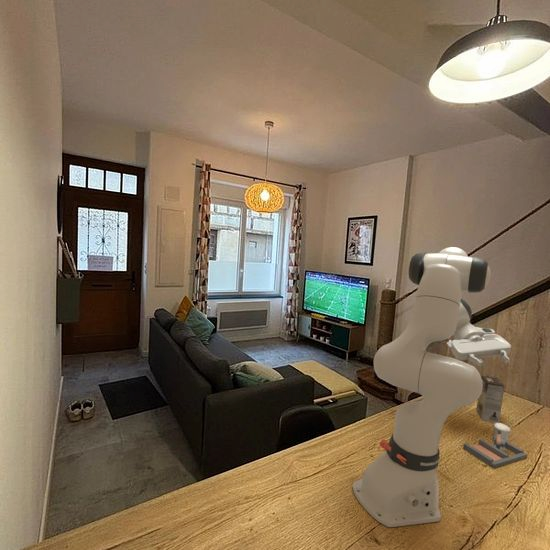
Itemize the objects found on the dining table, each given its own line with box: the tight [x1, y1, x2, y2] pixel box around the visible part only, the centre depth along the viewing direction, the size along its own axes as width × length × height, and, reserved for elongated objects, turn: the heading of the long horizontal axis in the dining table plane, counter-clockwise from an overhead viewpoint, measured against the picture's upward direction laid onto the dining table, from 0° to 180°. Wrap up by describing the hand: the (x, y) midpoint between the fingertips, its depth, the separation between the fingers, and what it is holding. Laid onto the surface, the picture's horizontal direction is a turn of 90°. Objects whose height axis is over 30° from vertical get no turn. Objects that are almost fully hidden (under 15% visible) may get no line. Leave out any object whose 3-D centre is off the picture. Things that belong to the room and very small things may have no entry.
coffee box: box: [475, 374, 506, 424], centre depth 132 cm, size 9×6×16 cm
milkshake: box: [492, 422, 514, 453], centre depth 108 cm, size 4×5×10 cm
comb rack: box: [462, 435, 528, 469], centre depth 106 cm, size 18×10×2 cm, turn 113°
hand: (494, 363), depth 111 cm, fingers open, 8 cm apart
